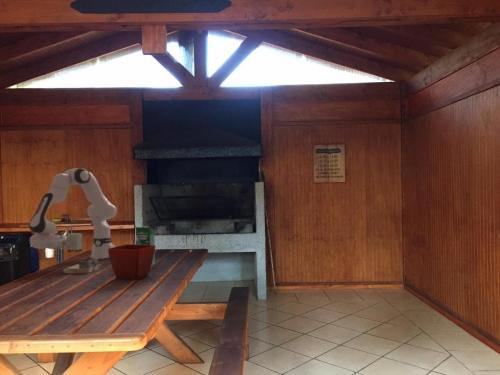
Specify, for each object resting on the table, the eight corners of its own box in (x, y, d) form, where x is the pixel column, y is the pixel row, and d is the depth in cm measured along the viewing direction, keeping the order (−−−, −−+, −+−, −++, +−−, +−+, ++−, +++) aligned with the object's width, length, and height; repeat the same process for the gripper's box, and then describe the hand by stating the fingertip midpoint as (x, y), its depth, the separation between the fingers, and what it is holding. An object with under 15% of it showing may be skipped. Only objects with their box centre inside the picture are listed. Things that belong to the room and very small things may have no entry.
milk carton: (154, 264, 268) (154, 225, 268) (150, 266, 259) (149, 227, 259) (141, 264, 269) (140, 225, 269) (136, 266, 260) (135, 227, 260)
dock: (78, 267, 259) (78, 257, 259) (101, 268, 257) (101, 257, 257) (63, 273, 243) (63, 262, 243) (87, 273, 241) (86, 262, 241)
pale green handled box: (71, 251, 257) (71, 226, 257) (82, 251, 256) (81, 226, 256) (67, 252, 252) (66, 227, 252) (77, 252, 251) (77, 227, 251)
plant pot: (156, 274, 236) (156, 244, 236) (138, 281, 217) (138, 249, 217) (127, 273, 241) (126, 244, 241) (107, 280, 223) (106, 248, 223)
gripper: (44, 238, 246) (65, 239, 244) (65, 234, 266) (85, 235, 264) (44, 249, 246) (65, 249, 244) (65, 244, 266) (85, 244, 264)
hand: (75, 242), depth 254 cm, fingers closed on pale green handled box, 5 cm apart
